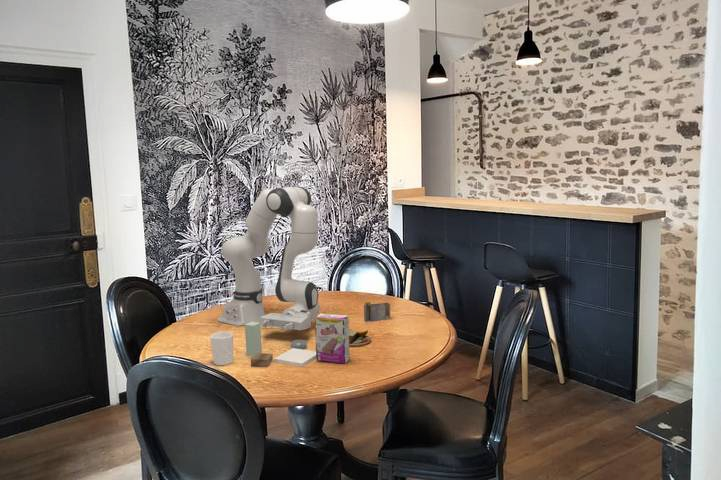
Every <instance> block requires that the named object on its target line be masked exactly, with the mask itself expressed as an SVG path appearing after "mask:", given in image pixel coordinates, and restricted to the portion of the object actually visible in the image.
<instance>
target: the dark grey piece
mask: <svg viewBox="0 0 721 480" xmlns="http://www.w3.org/2000/svg"><path fill="white" fill-rule="evenodd" d="M363 318H364V322H365V323H367V322H368V321H370V322H372V323H373V322H380V321H381V320H383V321H390V320H391V303H390V302H381V303H378V302H377V303H371V301H366V302H364V304H363Z"/></svg>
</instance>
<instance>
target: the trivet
mask: <svg viewBox="0 0 721 480" xmlns="http://www.w3.org/2000/svg"><path fill="white" fill-rule="evenodd" d="M315 359H316V350H309V349H308V350H307V349H304V350H303V349H296V348H292V349H291V348H290V349H289V350H287V351H285V352H283V353H281V354H279V355H278V356H276V357H275V358H273V362H274V363H278V364H283V365H291V366H296V367H303V368H304V367H305V366H306V365H308V364H309V363H311V362H312V361H314V360H315Z"/></svg>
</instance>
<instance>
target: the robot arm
mask: <svg viewBox="0 0 721 480" xmlns="http://www.w3.org/2000/svg"><path fill="white" fill-rule="evenodd" d="M311 203H312V195H311V192H310V191H309V190H308V189H307V188H305V187H301V186H286V187H277V188H265V189H263V190H262V191H261V192H260V194H259V195H258V196H257V198H256V200H255V201H254V203H253V205H252V206H251V209H250V210H249V213H248V215H247V216H246V218H245V222H244V223H245V225H246V227H247V231H246V233H244V234H243V235H240V236H235V237H231V238H229V239H227V240H226V241H224V242H223V243H222V245H221V254H222V257H223V258H224V260H226V262H228V263H229V265H231V268H232V271H233V273H234V280H235V291H232V292H231V296H232V295H233V298H232V299H231V300H230V301H229V302H227V303H226V304H225V305H224V306H223V307H222V314H221V316H218V318H217V319H216V320H217V322H220V323H224V324H228V325H232V326H236V327H239V326H240V327H241V326H245V324H247V323H250V322H258V323H260V326H261V329H266V328H268V327H271V328H279V329H281V330H282V331H287V330H294V331H303V330H306V329H310V328H311V326H312V320H315V317H316V316H317V315H319V314H320V313H319V312H320V308H321V307H320V305H319V304H320V303H319V290H318V288H317V286H316V284H314V283H313V282H312V281H307V280H306V281H305V280H298V279H293V278H292V277H293V276H292V273H293V268H294V263H295V262H294V261H295V259H296V257H298V256H301V255H303V254H307V253H308V252H311V251H312V250H314V249H315V247H316V246H317V244H318V240H319V224H318V223H319V222H318V220H319V219H318V215H317V214H318V213H317V209H316V208H315V207H313V206H312V205H311ZM278 215H279V216H281V217H283V218H287V217H289V218H290V221H291V230H290V238H289V240H288V242H286V243H285V245H284V247H283V251H282V255H281V261H280V267H279V273H278V278H277V282H276V284H275V289H274V293H275V296H276V298H277V299H278V300H279V301H280V302H283V303H294V305H292V306H290V307H286V308H285V309H284V310H283V312H282V313H276V312H271V313H270V312H269V313H268V314H267V313H265V310H264V304H263V289H262V281H261V279H262V278H261V272H260V270H259V269H257V268H256V267H255V265H254V264H253V259H256V258H260V257H261V256H263V255H265V254H267V252H268V251H269V250H270V241H269V239H268V236H269V232H270V231H271V229H272V227H273V224H274V222H275V221H276V219H277V216H278Z"/></svg>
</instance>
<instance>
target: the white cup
mask: <svg viewBox="0 0 721 480" xmlns="http://www.w3.org/2000/svg"><path fill="white" fill-rule="evenodd" d="M209 337H210V347H211V348H210V349H211V354H212V358H213V359H212V360H213V364H214V365H215V364H216V366H228V365H230V364H232V363H233V362H234V333H233V332H230V331H220V332H215V333H212V334H210V336H209Z"/></svg>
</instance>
